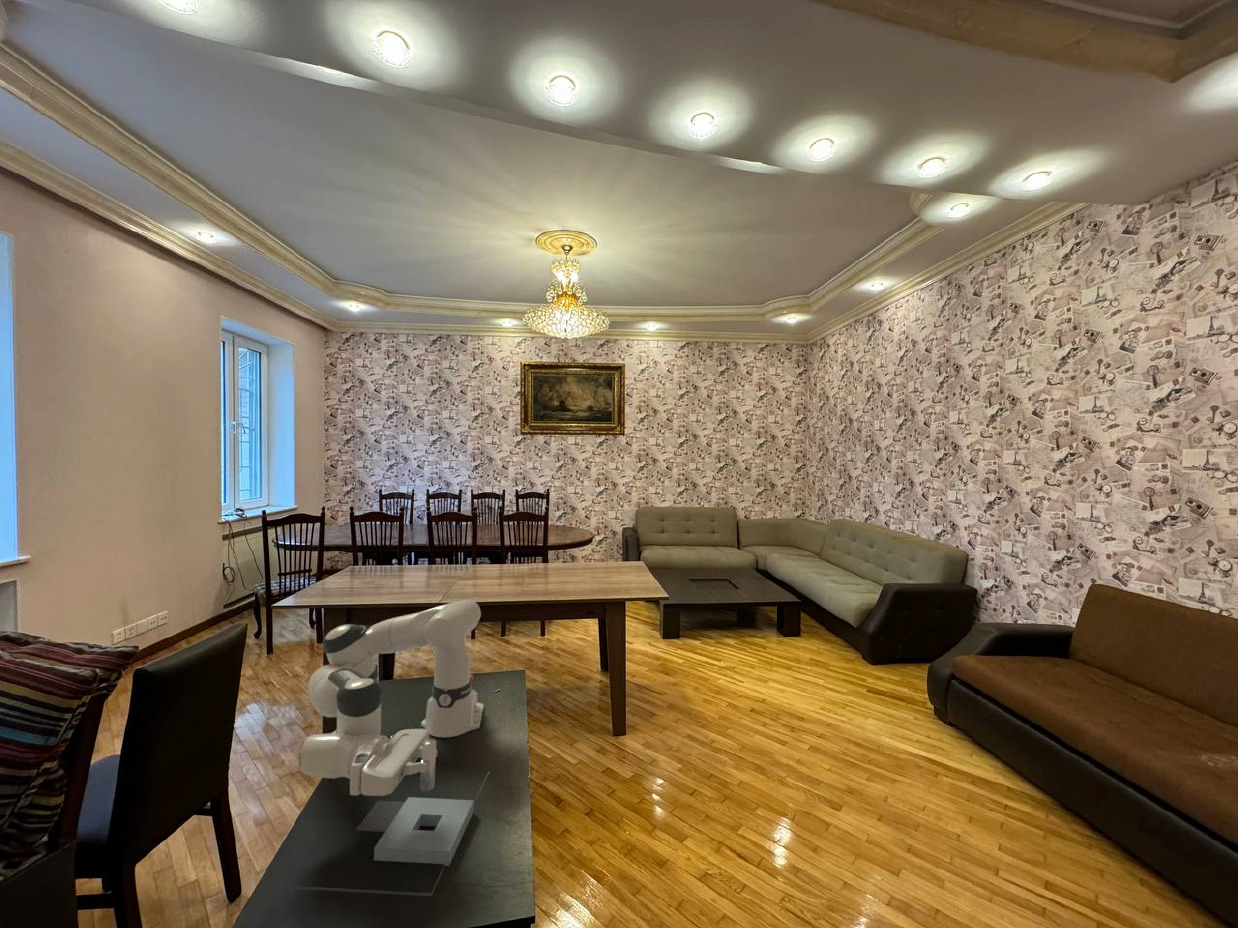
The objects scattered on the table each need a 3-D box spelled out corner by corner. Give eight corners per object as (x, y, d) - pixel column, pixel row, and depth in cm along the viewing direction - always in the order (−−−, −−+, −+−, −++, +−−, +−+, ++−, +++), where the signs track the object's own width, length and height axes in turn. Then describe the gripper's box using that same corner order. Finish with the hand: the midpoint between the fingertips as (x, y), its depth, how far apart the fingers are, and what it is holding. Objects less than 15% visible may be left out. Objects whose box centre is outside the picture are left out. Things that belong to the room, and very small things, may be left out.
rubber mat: (377, 802, 121) (377, 800, 121) (405, 803, 121) (405, 801, 121) (355, 831, 111) (355, 829, 111) (385, 833, 111) (385, 831, 111)
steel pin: (423, 782, 113) (425, 738, 113) (436, 783, 113) (438, 739, 113) (417, 790, 110) (419, 745, 110) (431, 791, 110) (433, 746, 110)
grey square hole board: (408, 809, 119) (408, 796, 119) (473, 812, 119) (473, 800, 119) (373, 861, 103) (374, 847, 103) (448, 865, 103) (449, 851, 103)
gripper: (394, 745, 122) (448, 748, 121) (346, 800, 101) (411, 804, 101) (395, 720, 122) (449, 722, 122) (347, 770, 102) (413, 773, 101)
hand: (432, 760), depth 111 cm, fingers closed on steel pin, 3 cm apart
